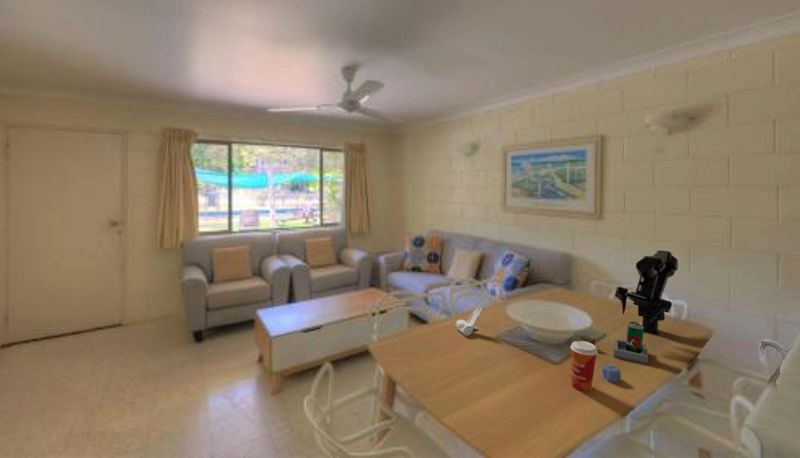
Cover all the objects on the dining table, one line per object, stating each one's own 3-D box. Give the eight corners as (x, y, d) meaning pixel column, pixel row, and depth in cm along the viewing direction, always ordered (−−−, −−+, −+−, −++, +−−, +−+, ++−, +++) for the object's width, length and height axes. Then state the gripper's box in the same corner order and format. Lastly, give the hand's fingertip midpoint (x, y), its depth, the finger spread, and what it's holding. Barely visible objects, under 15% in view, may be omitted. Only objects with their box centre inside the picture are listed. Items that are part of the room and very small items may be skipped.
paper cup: (563, 380, 118) (565, 340, 116) (585, 379, 119) (588, 339, 117) (576, 394, 110) (579, 351, 108) (600, 393, 111) (603, 350, 109)
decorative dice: (601, 376, 121) (602, 365, 120) (612, 375, 121) (613, 364, 120) (608, 382, 117) (609, 371, 116) (620, 382, 117) (621, 370, 116)
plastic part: (455, 329, 159) (455, 304, 158) (475, 326, 162) (475, 301, 160) (463, 336, 152) (463, 310, 150) (483, 333, 155) (484, 307, 153)
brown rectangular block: (583, 343, 144) (584, 334, 144) (594, 349, 140) (595, 339, 139) (580, 344, 143) (580, 335, 143) (591, 350, 139) (591, 340, 138)
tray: (614, 345, 142) (614, 338, 142) (645, 352, 137) (646, 344, 137) (613, 356, 134) (614, 349, 133) (647, 364, 128) (648, 356, 128)
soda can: (644, 357, 132) (647, 326, 131) (632, 357, 132) (634, 326, 130) (634, 350, 137) (637, 320, 136) (622, 351, 137) (624, 321, 135)
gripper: (670, 299, 146) (661, 333, 141) (618, 284, 157) (608, 316, 152) (676, 288, 138) (666, 325, 133) (621, 273, 148) (610, 306, 143)
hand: (636, 318), depth 140 cm, fingers open, 9 cm apart
